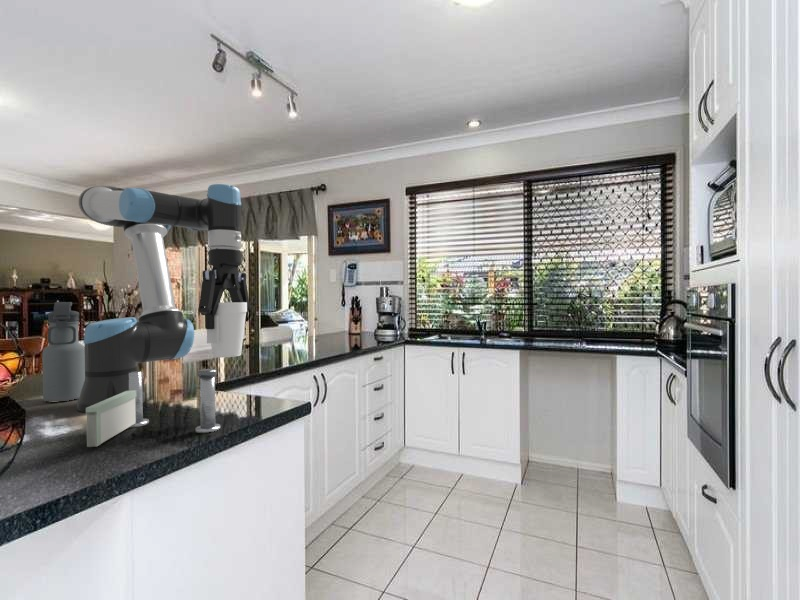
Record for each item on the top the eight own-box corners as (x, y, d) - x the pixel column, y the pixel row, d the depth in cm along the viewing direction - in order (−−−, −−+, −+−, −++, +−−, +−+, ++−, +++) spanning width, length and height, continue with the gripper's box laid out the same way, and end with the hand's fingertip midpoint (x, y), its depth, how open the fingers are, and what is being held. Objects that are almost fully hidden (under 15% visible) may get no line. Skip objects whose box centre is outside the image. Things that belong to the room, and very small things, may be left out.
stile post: (190, 432, 90) (189, 372, 90) (205, 425, 95) (205, 368, 95) (210, 434, 89) (209, 372, 89) (225, 426, 94) (224, 368, 94)
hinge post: (117, 427, 94) (116, 373, 94) (136, 420, 99) (135, 369, 99) (136, 428, 93) (135, 374, 93) (154, 421, 98) (153, 370, 98)
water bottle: (84, 400, 120) (83, 302, 119) (40, 405, 114) (38, 302, 114) (87, 393, 128) (86, 301, 128) (46, 397, 123) (44, 302, 123)
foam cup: (232, 358, 97) (231, 302, 97) (197, 358, 99) (196, 303, 99) (254, 353, 107) (254, 302, 107) (222, 352, 109) (221, 302, 108)
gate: (127, 423, 94) (126, 390, 94) (136, 423, 95) (136, 390, 94) (86, 446, 80) (85, 408, 80) (97, 446, 80) (97, 407, 80)
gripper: (208, 243, 91) (209, 346, 91) (263, 253, 113) (265, 336, 113) (178, 244, 93) (180, 346, 93) (239, 254, 114) (240, 336, 115)
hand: (226, 340), depth 103 cm, fingers closed on foam cup, 9 cm apart
